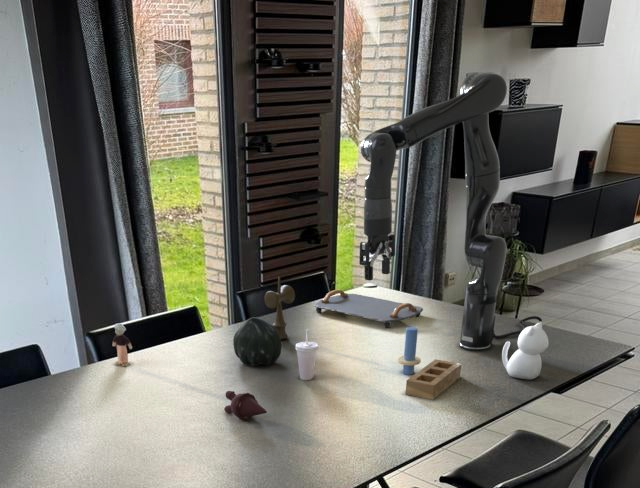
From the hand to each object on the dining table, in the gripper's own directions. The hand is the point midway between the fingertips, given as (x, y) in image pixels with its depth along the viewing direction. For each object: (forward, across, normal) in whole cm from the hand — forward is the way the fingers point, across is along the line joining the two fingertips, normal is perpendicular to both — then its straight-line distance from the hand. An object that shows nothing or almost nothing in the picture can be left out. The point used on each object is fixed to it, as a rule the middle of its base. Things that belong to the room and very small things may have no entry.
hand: (377, 276), depth 206 cm
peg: (+26, -1, -11) cm, 28 cm away
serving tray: (+25, +44, +33) cm, 60 cm away
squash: (+24, -20, +30) cm, 43 cm away
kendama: (+24, +2, +40) cm, 46 cm away
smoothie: (+25, -22, +10) cm, 34 cm away
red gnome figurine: (+24, -54, +4) cm, 60 cm away
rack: (+26, -6, -22) cm, 35 cm away
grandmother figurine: (+22, -46, +61) cm, 80 cm away
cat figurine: (+28, +16, -37) cm, 49 cm away
